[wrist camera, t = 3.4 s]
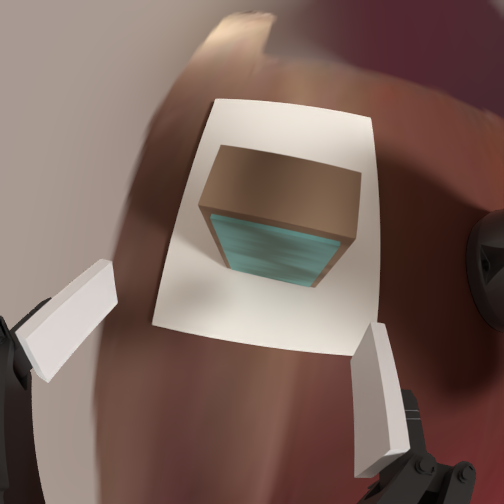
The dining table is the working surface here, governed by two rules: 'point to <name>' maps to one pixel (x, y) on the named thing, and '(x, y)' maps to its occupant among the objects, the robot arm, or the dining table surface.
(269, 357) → the dining table surface
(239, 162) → the walnut plaque
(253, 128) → the cream white flat board
